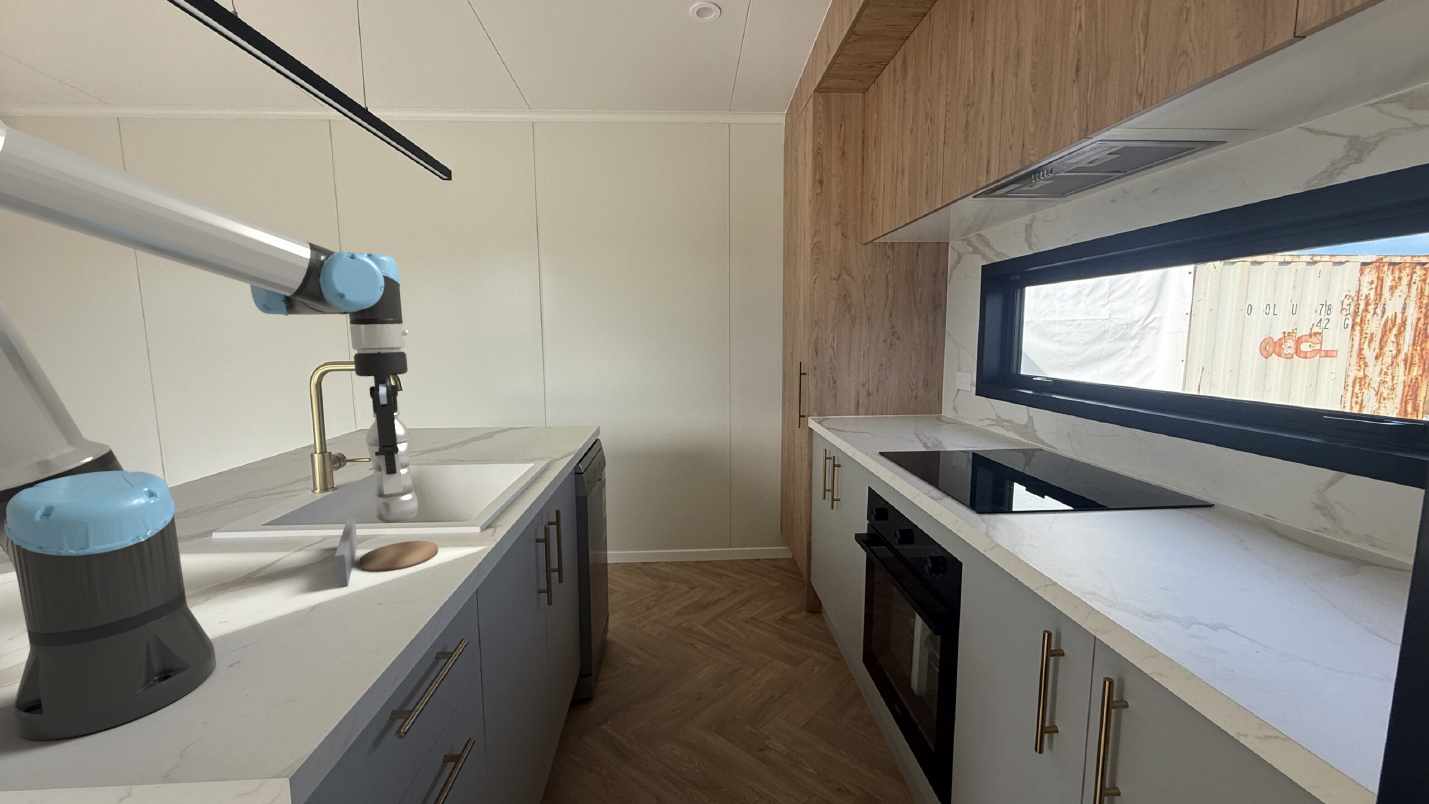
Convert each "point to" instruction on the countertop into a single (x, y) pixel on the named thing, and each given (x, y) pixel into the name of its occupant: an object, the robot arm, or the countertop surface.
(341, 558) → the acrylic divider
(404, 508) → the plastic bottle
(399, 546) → the walnut coaster
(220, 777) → the countertop surface
